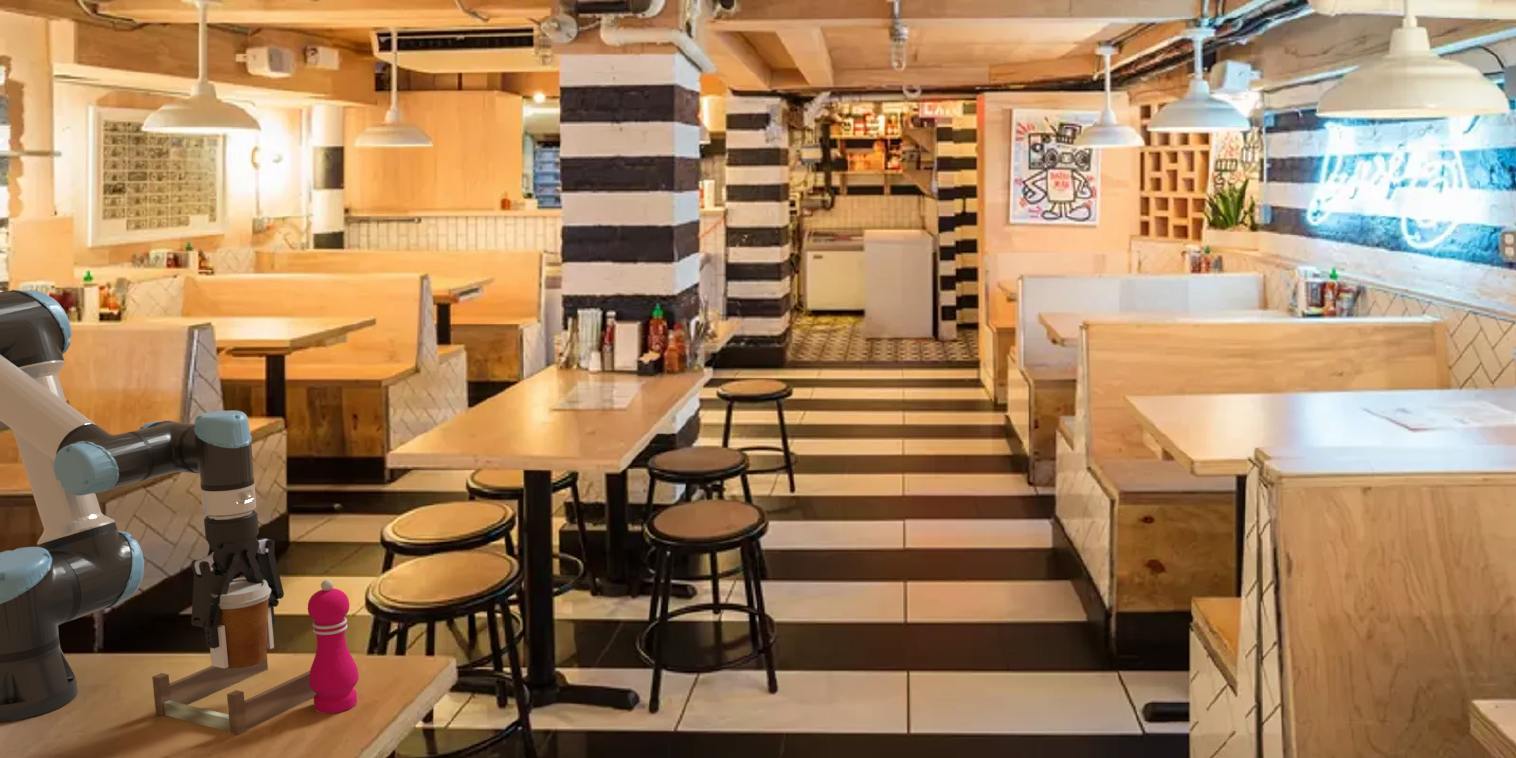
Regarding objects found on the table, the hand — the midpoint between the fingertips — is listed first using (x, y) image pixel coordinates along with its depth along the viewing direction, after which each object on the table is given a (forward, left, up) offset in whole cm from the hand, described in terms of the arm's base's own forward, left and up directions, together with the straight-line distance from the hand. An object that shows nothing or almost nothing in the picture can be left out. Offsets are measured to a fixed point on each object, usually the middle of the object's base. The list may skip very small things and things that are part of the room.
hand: (243, 656), depth 194 cm
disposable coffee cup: (0, 0, -1) cm, 1 cm away
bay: (0, +1, -7) cm, 7 cm away
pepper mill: (+14, +5, -8) cm, 16 cm away
